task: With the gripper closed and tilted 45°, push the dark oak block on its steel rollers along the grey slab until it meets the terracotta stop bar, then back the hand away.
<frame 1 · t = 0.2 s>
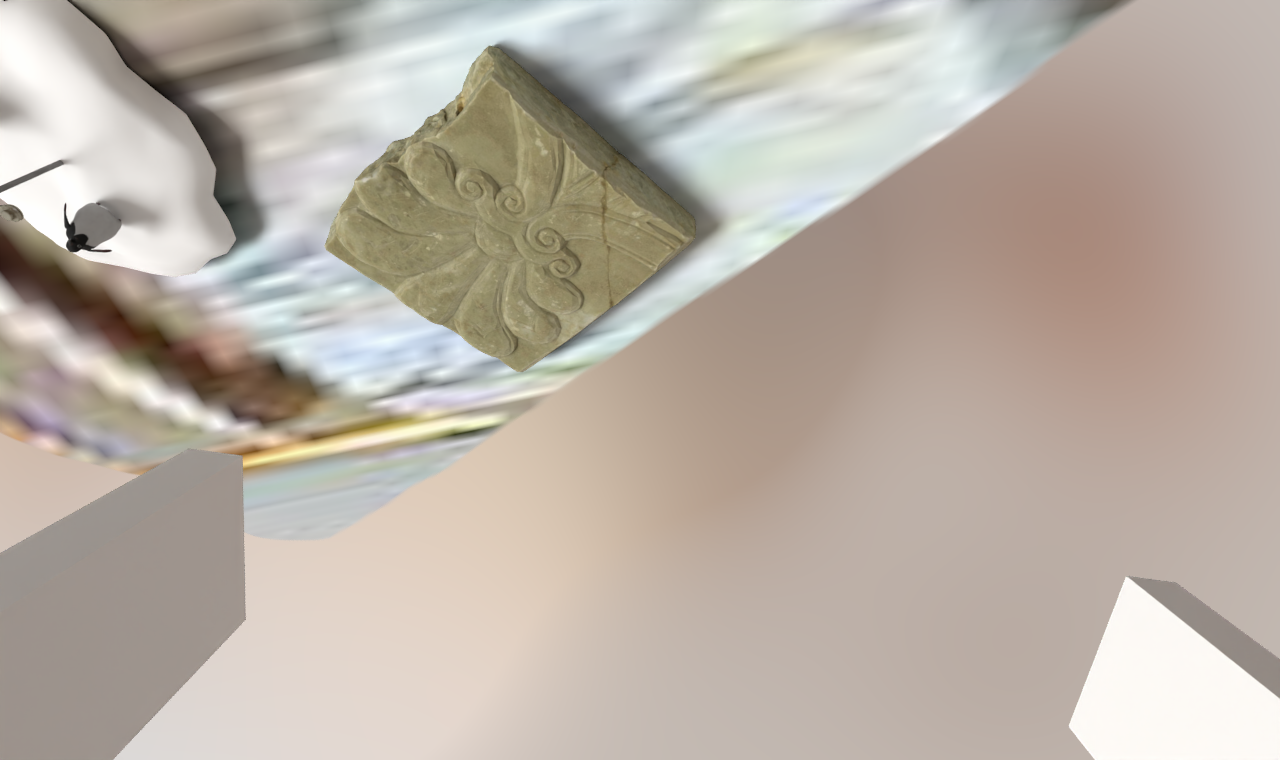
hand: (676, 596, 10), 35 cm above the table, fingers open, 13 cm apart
decorative tile: (507, 217, 48), on the table
figurine: (95, 141, 45), on the table
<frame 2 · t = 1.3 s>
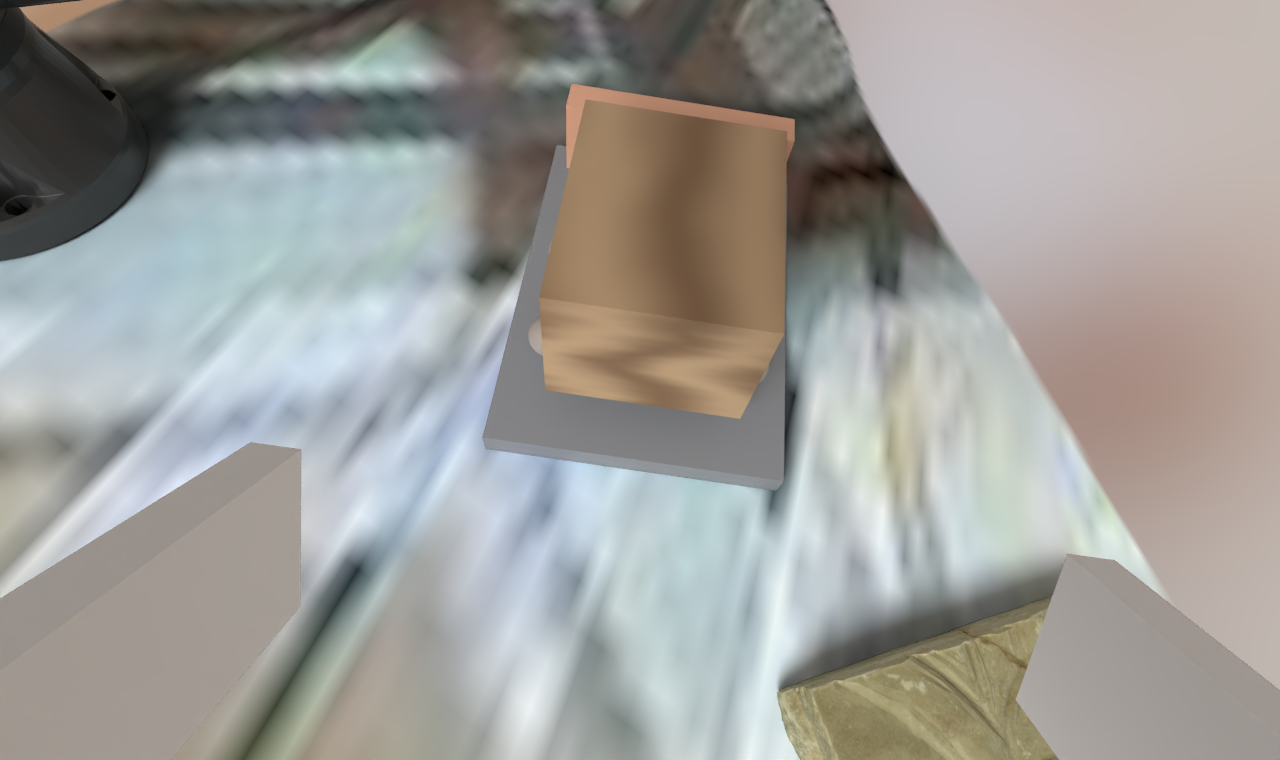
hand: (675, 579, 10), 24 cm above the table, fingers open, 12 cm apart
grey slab: (653, 305, 42), on the table
oak block: (661, 277, 34), point 7 cm above the table, slide at 0.0 cm
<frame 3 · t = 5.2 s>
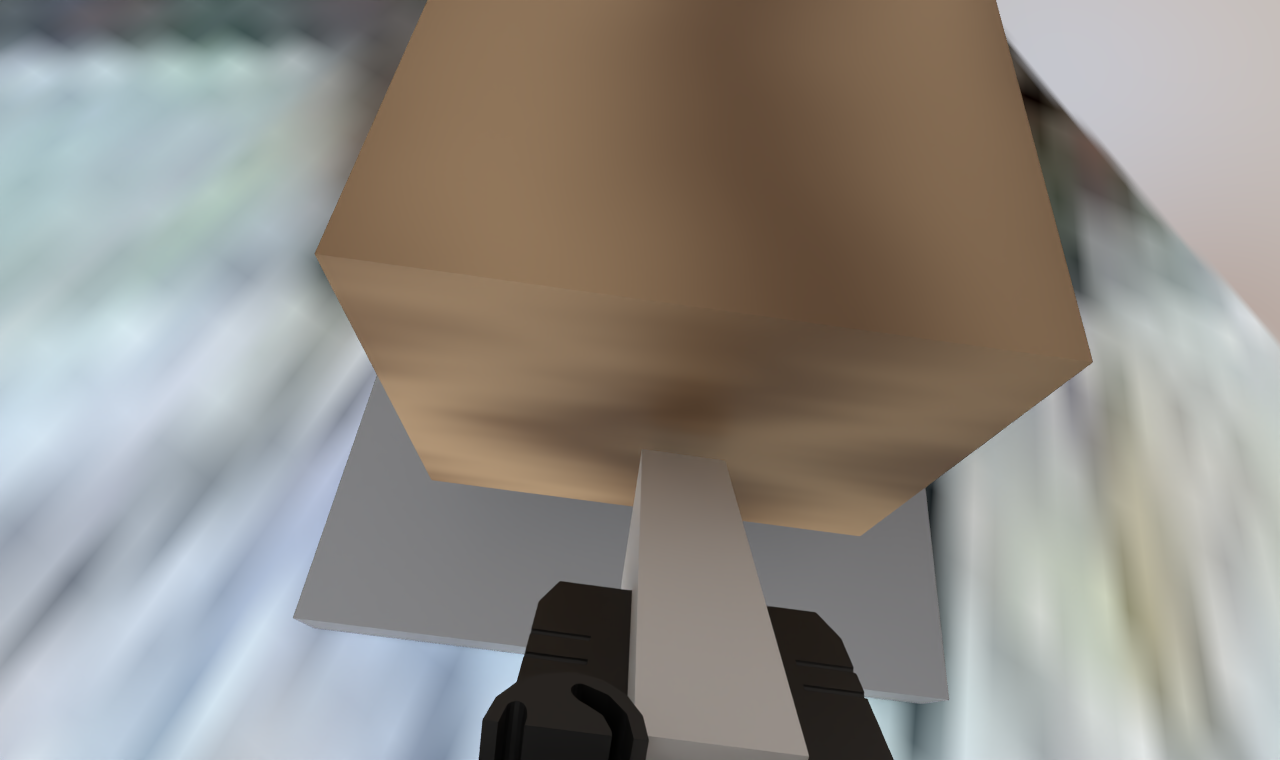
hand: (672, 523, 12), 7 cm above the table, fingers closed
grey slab: (659, 320, 23), on the table
oak block: (684, 230, 16), point 7 cm above the table, slide at 1.0 cm, touching gripper
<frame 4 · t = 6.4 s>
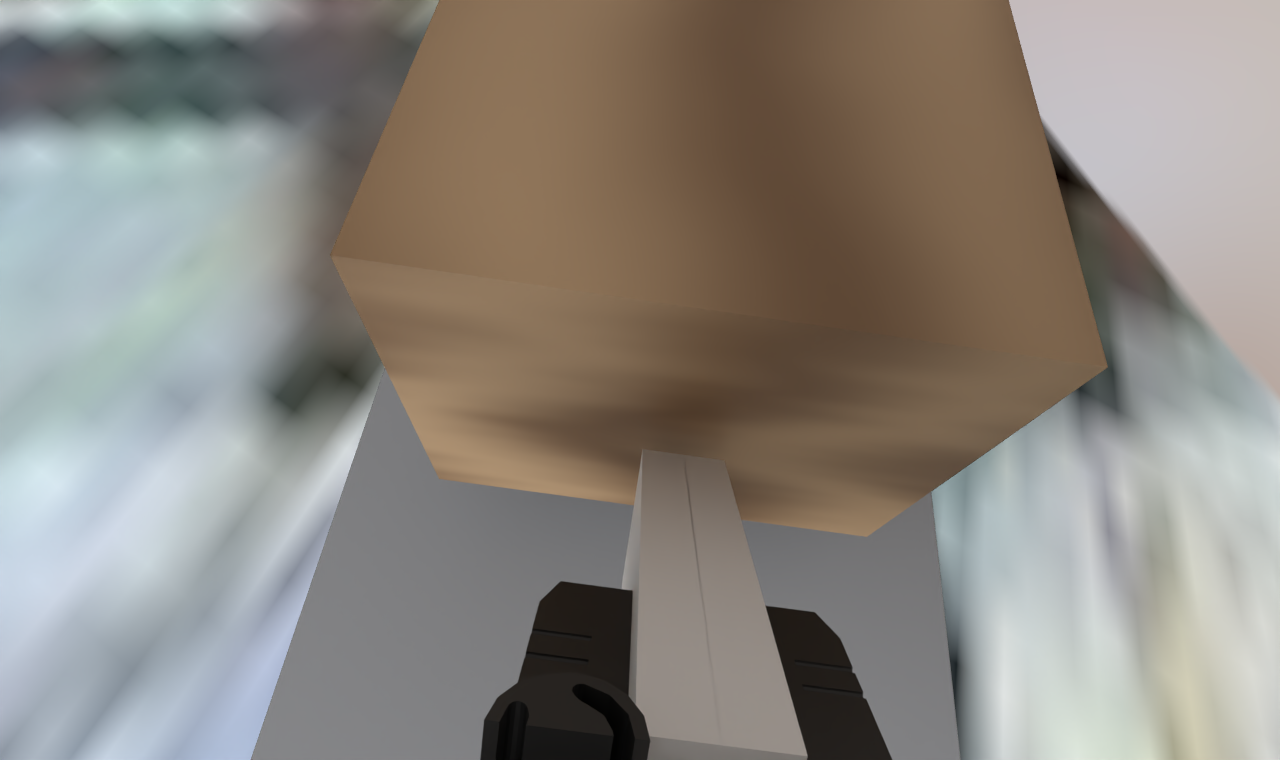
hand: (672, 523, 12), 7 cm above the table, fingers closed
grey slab: (649, 454, 20), on the table
oak block: (692, 229, 16), point 7 cm above the table, slide at 6.0 cm, touching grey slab, gripper
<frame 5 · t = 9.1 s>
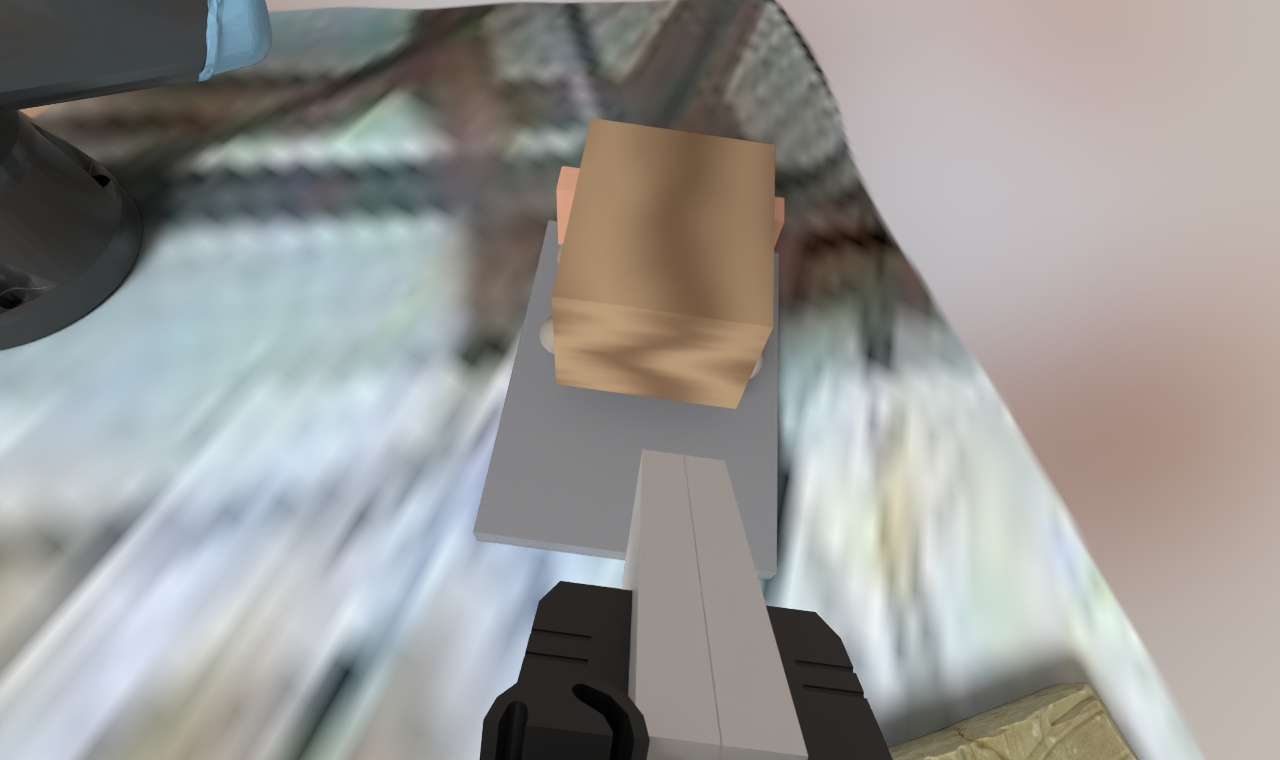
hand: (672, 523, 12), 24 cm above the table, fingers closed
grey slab: (645, 385, 42), on the table
oak block: (662, 279, 37), point 7 cm above the table, slide at 6.0 cm, touching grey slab
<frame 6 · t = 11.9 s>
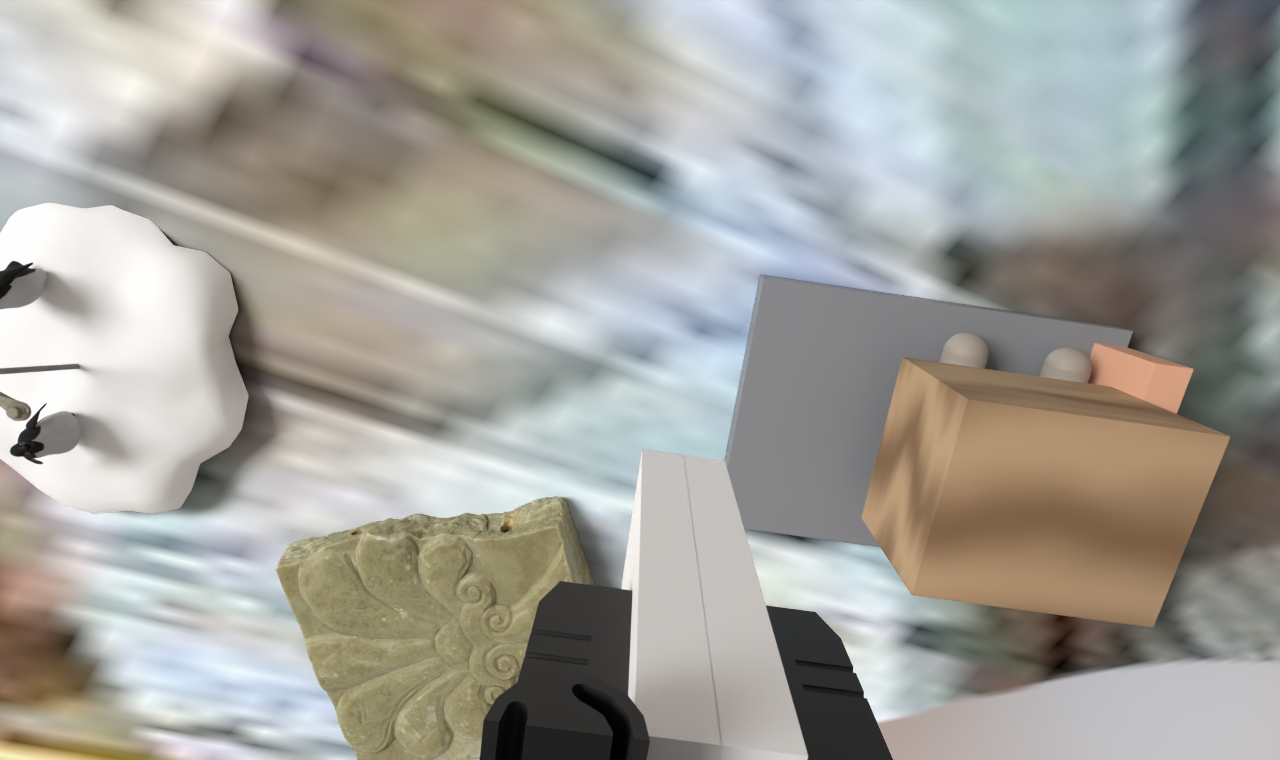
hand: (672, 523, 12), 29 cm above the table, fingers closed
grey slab: (906, 424, 43), on the table
decorative tile: (465, 617, 48), on the table
oak block: (1007, 473, 36), point 7 cm above the table, slide at 6.0 cm, touching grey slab
figurine: (120, 360, 43), on the table
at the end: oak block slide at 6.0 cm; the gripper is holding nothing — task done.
